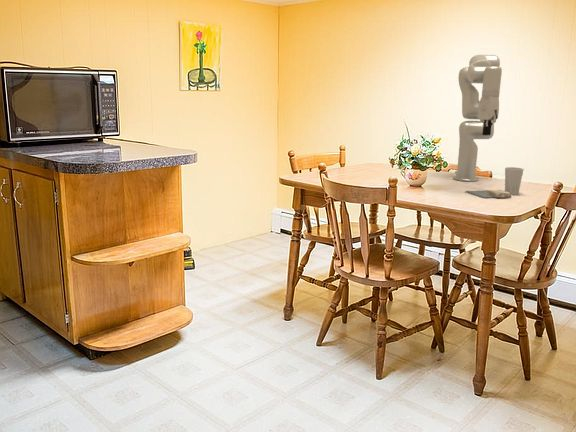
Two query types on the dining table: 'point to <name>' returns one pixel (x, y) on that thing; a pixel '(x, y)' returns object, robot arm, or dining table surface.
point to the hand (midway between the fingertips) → (486, 135)
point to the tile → (498, 193)
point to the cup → (513, 179)
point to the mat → (483, 194)
